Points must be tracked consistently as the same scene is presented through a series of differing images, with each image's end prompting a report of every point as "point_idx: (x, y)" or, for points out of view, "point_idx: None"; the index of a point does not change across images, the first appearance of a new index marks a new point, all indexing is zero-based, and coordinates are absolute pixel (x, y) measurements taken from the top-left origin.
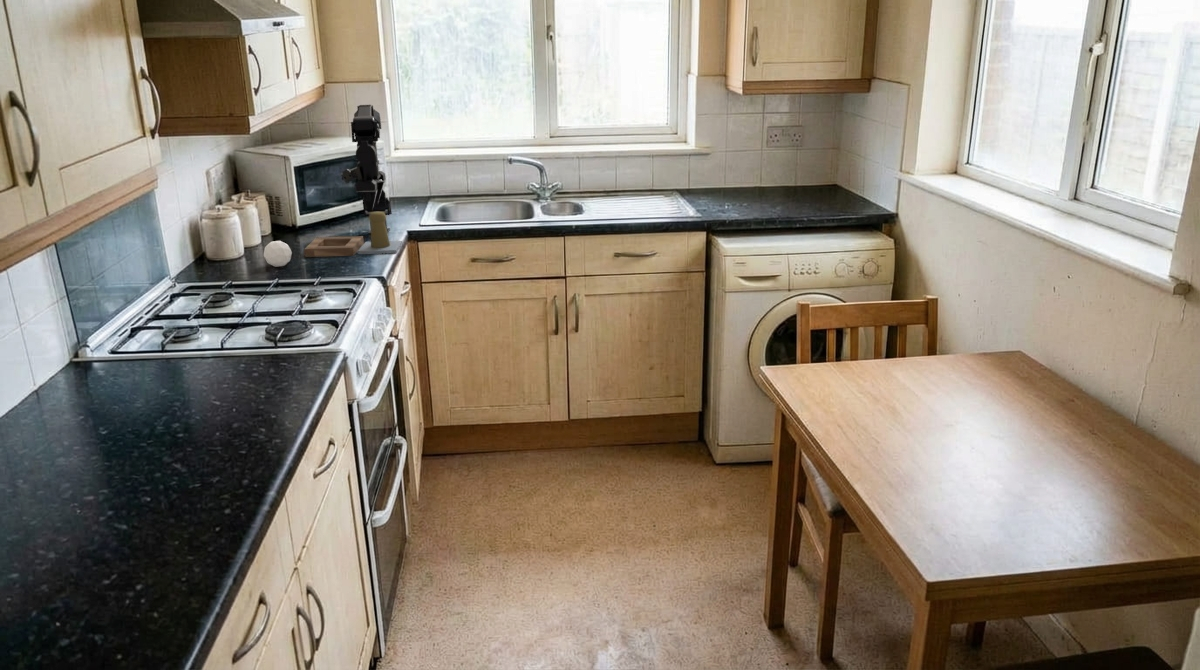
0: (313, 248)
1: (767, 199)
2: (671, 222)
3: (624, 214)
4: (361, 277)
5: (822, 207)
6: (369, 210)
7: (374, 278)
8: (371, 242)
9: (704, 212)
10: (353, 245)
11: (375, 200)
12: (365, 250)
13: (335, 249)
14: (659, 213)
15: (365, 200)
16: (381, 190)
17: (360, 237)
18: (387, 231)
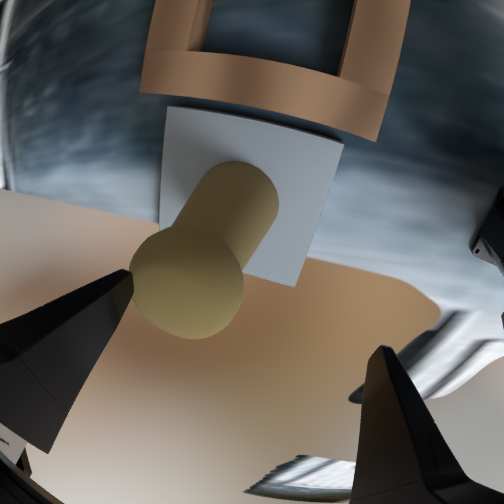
0: None
1: (315, 496)
2: (269, 478)
3: (325, 477)
4: (3, 156)
5: (275, 495)
6: (118, 277)
7: (3, 182)
8: (214, 171)
9: (295, 487)
10: (179, 89)
11: (376, 385)
12: (172, 138)
13: (155, 19)
14: (311, 482)
15: (33, 318)
16: (352, 487)
17: (351, 125)
18: (483, 258)
